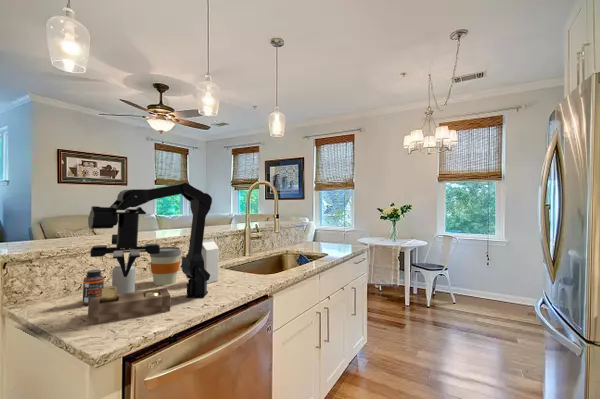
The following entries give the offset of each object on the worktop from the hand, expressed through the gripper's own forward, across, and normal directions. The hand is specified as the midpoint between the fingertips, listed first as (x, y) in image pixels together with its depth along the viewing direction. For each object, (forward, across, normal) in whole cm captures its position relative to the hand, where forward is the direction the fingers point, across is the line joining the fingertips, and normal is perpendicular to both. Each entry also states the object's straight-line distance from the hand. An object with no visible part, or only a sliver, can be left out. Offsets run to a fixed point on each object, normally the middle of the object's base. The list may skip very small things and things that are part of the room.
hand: (125, 276), depth 92 cm
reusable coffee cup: (+11, -16, -32) cm, 38 cm away
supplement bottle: (+12, +9, -17) cm, 23 cm away
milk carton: (+11, -33, -25) cm, 43 cm away
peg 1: (+8, +4, 0) cm, 9 cm away
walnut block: (+12, -2, 0) cm, 12 cm away
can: (+12, 0, -21) cm, 24 cm away
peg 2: (+11, -8, 0) cm, 14 cm away
